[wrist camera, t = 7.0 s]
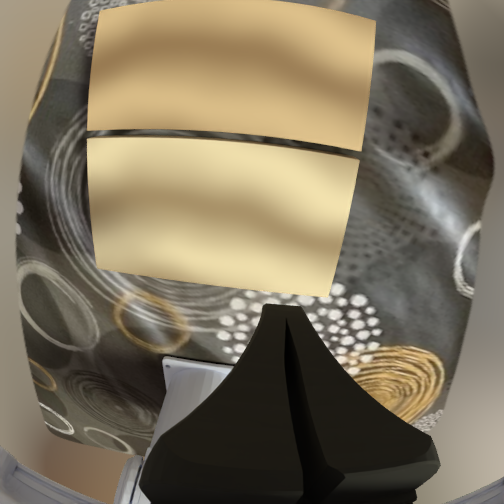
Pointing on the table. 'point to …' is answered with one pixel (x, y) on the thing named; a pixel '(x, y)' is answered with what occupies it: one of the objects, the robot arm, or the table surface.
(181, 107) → the laid oak board
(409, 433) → the robot arm
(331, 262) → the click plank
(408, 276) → the table surface
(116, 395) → the table surface
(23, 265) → the table surface
